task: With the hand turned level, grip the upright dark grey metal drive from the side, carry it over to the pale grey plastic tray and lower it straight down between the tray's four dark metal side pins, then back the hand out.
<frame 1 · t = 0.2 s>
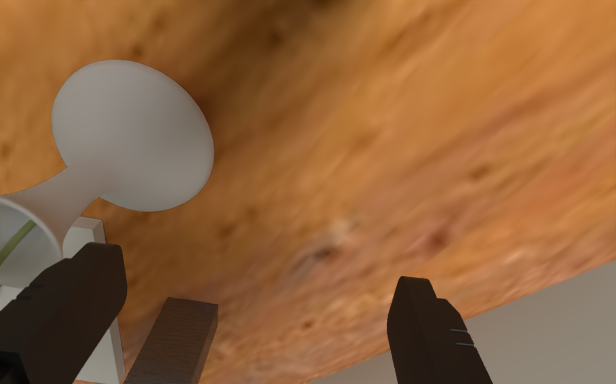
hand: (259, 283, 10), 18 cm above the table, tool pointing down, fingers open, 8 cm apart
drive: (193, 312, 36), on the table
flower in vase: (142, 141, 28), on the table
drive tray: (36, 296, 36), on the table
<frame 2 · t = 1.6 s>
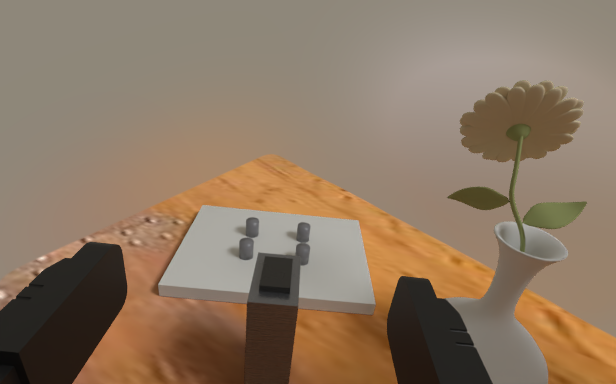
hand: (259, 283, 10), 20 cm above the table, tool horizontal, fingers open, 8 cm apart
drive: (268, 379, 29), on the table
flower in vase: (461, 356, 34), on the table
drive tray: (274, 256, 43), on the table
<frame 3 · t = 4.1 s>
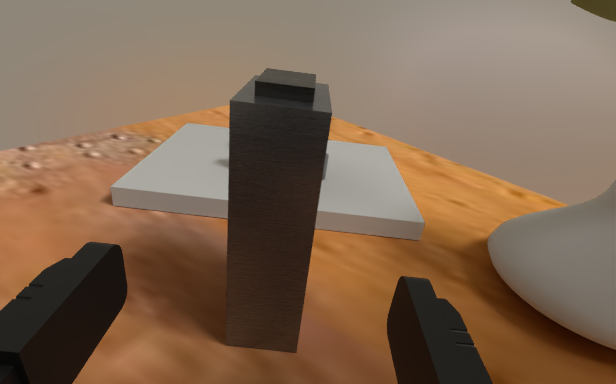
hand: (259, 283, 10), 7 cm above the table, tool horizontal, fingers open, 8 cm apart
drive: (268, 307, 18), on the table
flower in vase: (559, 293, 22), on the table
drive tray: (279, 177, 32), on the table
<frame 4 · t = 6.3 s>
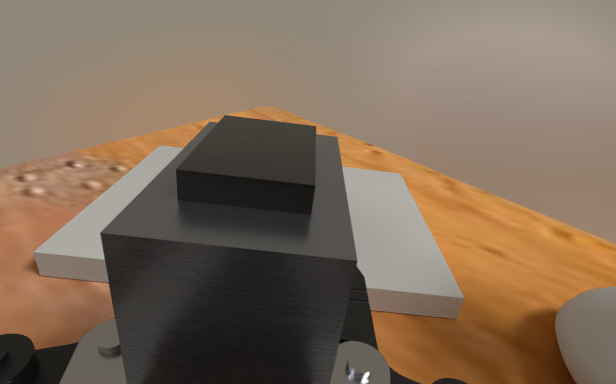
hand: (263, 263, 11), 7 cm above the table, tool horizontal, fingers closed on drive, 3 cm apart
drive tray: (269, 219, 26), on the table
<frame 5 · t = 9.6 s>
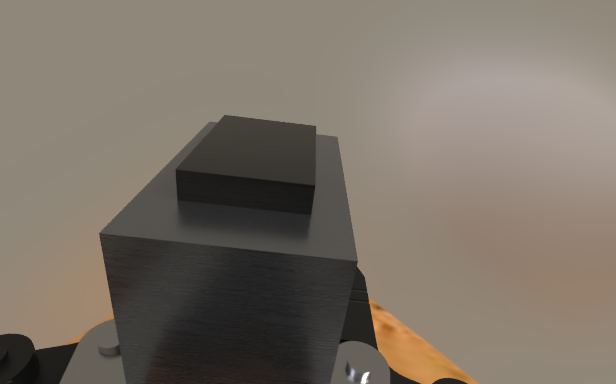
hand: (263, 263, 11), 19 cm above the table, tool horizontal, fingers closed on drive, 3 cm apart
when the fingers open (9 cm above the table, at t = 12.8 s): drive stays where it is, resting on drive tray.
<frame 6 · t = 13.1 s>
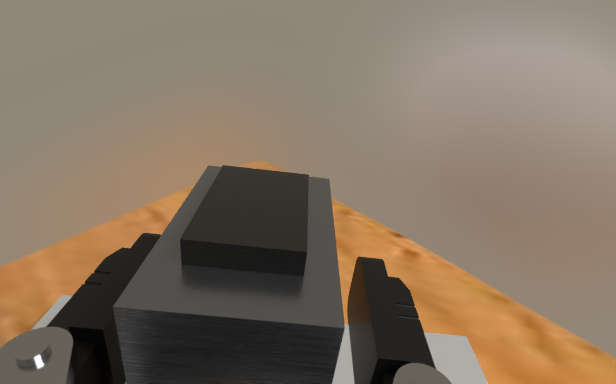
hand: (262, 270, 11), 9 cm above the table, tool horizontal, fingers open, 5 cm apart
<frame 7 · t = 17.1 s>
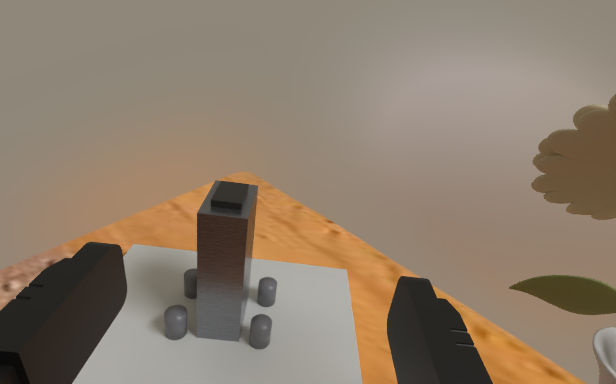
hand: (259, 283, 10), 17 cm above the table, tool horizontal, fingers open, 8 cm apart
drive: (224, 315, 29), point 1 cm above the table, touching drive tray
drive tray: (223, 328, 30), on the table
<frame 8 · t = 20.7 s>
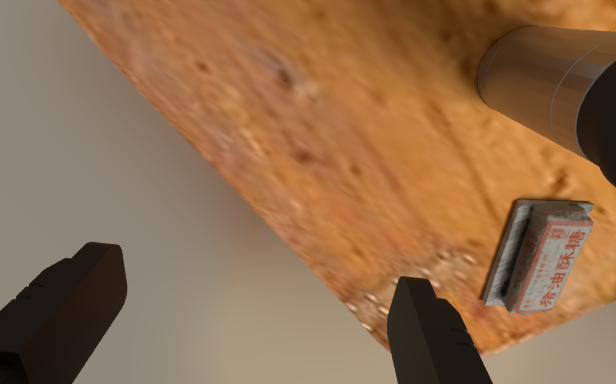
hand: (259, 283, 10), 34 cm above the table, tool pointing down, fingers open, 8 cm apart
packaged product: (529, 252, 52), on the table
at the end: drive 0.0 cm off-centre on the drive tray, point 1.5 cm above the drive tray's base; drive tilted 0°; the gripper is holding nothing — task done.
